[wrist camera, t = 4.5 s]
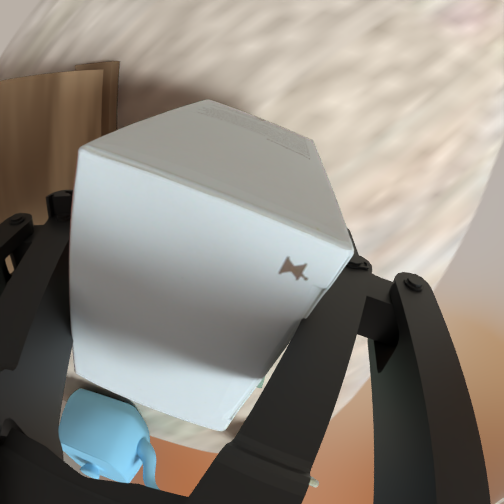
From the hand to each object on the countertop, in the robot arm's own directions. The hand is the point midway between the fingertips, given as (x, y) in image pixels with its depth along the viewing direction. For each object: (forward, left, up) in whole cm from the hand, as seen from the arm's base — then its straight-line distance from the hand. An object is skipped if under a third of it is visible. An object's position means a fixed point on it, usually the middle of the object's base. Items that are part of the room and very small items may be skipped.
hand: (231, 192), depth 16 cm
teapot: (-13, -36, -5) cm, 39 cm away
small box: (0, 0, -1) cm, 1 cm away
